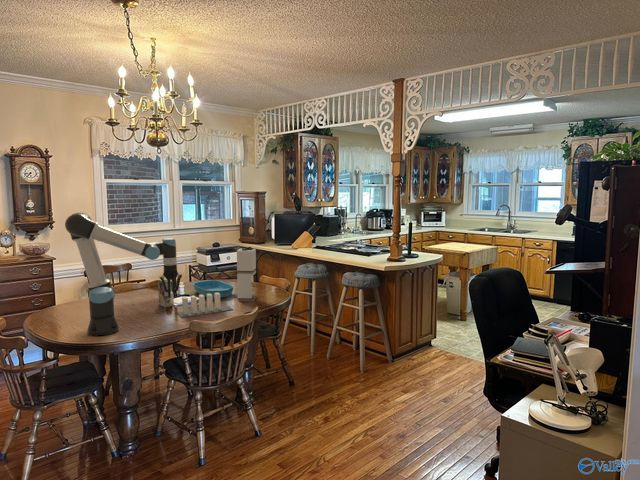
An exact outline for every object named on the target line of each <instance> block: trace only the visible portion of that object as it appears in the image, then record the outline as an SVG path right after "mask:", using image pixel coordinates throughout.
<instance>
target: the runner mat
mask: <svg viewBox="0 0 640 480" xmlns="http://www.w3.org/2000/svg"><path fill="white" fill-rule="evenodd" d="M233 310H234V309H233V308H232V307H231V306H229V305H227V304H224V305H222V304H221V309H220V310H217V309H215V306H213V311H209V310H208V309H207V307H205V312H201V311H199V308H197V313H194V314H193V313H192V312H191V309H188V314H187V315H184V314H183V310H182V311H177V312H176V313H177V315H178V316H179V317H180V319H183V318H190V317H197V316H203V315H209V314H215V313H216V314H217V313H222V312H229V311H233Z"/></svg>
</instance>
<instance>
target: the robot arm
mask: <svg viewBox="0 0 640 480" xmlns="http://www.w3.org/2000/svg"><path fill="white" fill-rule="evenodd" d="M64 226H65V230H66V231H67V232H68V233H69V234H70V238H71V240H72V241H73V242H74V243H76V246H77V250H78V252H79V255H80V258H81V261H82V264H83V267H84V270H85V274H86V276H87V278H88V279H87V280H88V282H89V284H88V286H87V289H88V302H89V303H88V305H89V319H90V321H89V324H88V327H87V331H86V332H87V335H88V334H89V335H88V336H90V335H94V336H93V337H99V336H98V335H104V336H108V335H107V334H109V335H112V334H111V333H113V334H114V332H115V333H117V332H119V331H120V325H119V323H118V321H117V319H116V316H115V315H116V314H115V304H114V303H115V296H116V295H115V294H116V293H115V292H116V291H115V290H114V288H113V286H112V282H111V280H110V279H108V278H107V277H106V273H105V271H104V267H103V263H102V261H101V258H100V255H99V251H98V249H97V245H96V242H95V241H98V242H101V243H104V244H107V245H109V246H113V247H116V248H119V249H121V250H124V251H126V252H130V253H133V254H136V255H139V256H142V257H143V258H147V259H148V260H150V261H155V260H157V259H158V258H159V257H160V256H162V263H163V274H162V275H160V276H159V277H158V278H159V280H160V281H162V284H163V287H164V290H165V292H168V297H169V298H170V303H174V304H175V302H174V301H175V298H176V292H178V290H179V287H180V282H181V279H182V278H183V277H182V276H183V275H182V274H180V273H179V272H178V264H177V244H176V239H175V238H172V237H171V238H170V237H169V238H168V237H167V238H162V240H161V242H145V241H142V240H139V239H136V238H133V237H131V236H128V235H126V234H123V233H120V232H117V231H114V230H112V229H110V228H107V227H105V226H101V225H99V224H98V222H96V221H93V219H92V218H91V216H89V215H88V214H87V213H84V212H76V213H73V214H71V215H69V216H68V217H67V218H66V220H65V223H64ZM176 278H177V279H176ZM164 280H167V286H168V290H167V288H166V285H165V281H164ZM170 281H171V282H172V292H171V288H170ZM175 281H176V283H175Z"/></svg>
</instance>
